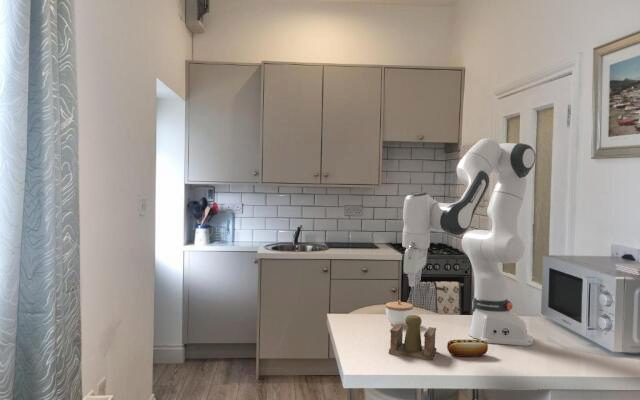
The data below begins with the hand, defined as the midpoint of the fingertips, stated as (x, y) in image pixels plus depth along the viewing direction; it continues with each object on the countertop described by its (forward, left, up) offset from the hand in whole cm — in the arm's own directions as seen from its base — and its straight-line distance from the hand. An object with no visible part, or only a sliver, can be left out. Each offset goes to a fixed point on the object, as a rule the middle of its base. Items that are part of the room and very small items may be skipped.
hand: (414, 283), depth 168 cm
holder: (0, 0, -23) cm, 23 cm away
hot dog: (-17, -5, -23) cm, 29 cm away
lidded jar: (+12, -32, -23) cm, 41 cm away
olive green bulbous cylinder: (0, +1, -22) cm, 22 cm away
